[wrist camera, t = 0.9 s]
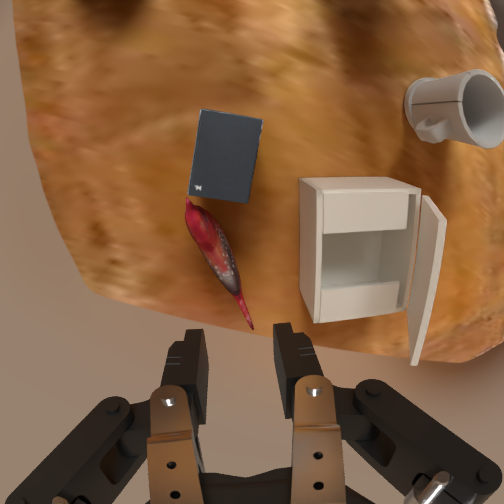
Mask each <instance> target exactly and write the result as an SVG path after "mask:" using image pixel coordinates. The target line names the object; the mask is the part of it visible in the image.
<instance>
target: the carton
mask: <svg viewBox="0 0 504 504" xmlns="http://www.w3.org/2000/svg"><path fill="white" fill-rule="evenodd" d="M420 200H421V188H418V187H415V186H412V185H410V184H407V183H404V182H401V181H398V180H395V179H392V178H390V177H312V178H299V227H300V272H299V290H300V292H301V295H302V297H303V299H304V302H305V304H306V306H307V309H308V311H309V314H310V316H311V318H312V321H313V323H325V322H333V321H341V320H349V319H356V318H363V317H371V316H377V315H384V314H390V313H395V312H401V311H406V308H407V302H408V297H409V291H410V285H411V279H412V273H413V266H414V259H415V251H416V243H417V234H418V224H419V213H420Z"/></svg>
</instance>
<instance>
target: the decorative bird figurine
mask: <svg viewBox="0 0 504 504" xmlns="http://www.w3.org/2000/svg"><path fill="white" fill-rule="evenodd" d="M185 221H186V225H187V227H188V230H189V232H190V234H191V236H192V238H193V239H194V241H195V242H196V243H197V245H198V247H199V249H200V250H201V252H202V254H203V255H204V257H205V259H206V261H207V262H208V264H209V266H210V267H211V269H212V270H213V272H214V273H215V275H216V276H217V277H218V279H219V280H220V281H221V283H222V284H223V285H224V286H225V288H226V289H227V290H228V291H229V292H230V293H231V294H232V295H233V296H234V298H235V299H236V301H237V303H238V305H239V307H240V308H241V311H242V312H243V314H244V316H245V318H246V320H247V322H248V324H249V326H250V327H251V329H252V330H254V328H253V324H252V321H251V318H250V315H249V312H248V310H247V307H246V304H245V301H244V298H243V295H242V289H241V281H240V276H239V272H238V269H237V265H236V261H235V258H234V255H233V252H232V249H231V247H230V244H229V242H228V240H227V238H226V236H225V234H224V232H223V230H222V228H221V227H220V225H219V224H218V222H217V221H216V219H215V218H214V217H213V216H212V215H211V214H210V213H209V212H208V211H206V210H205V209H203V208H201V207H200V206H195V205H193V204H192V202H191V201H190V200H189V199H188V198H187V197H186V212H185Z"/></svg>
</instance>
